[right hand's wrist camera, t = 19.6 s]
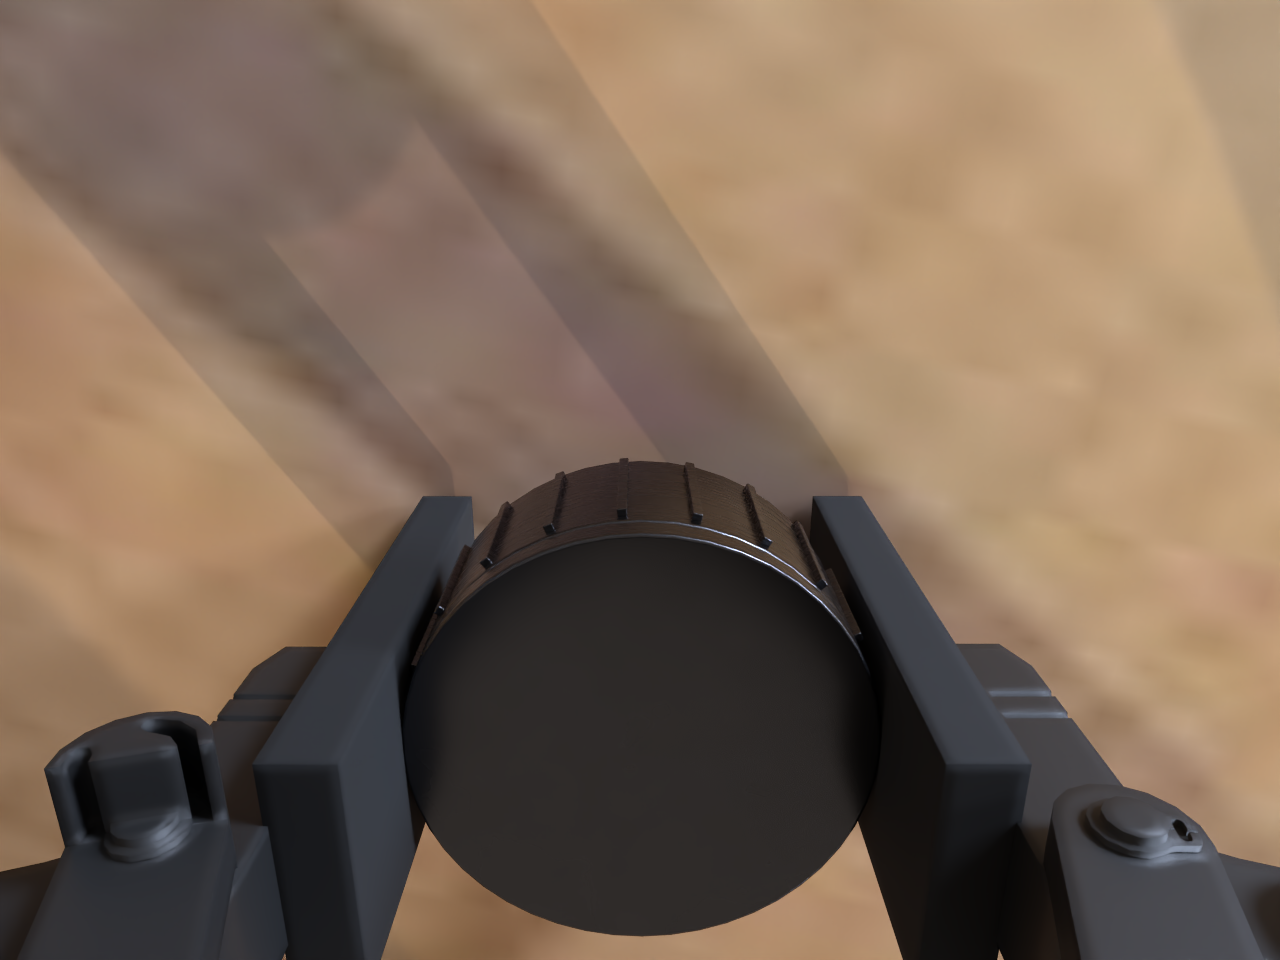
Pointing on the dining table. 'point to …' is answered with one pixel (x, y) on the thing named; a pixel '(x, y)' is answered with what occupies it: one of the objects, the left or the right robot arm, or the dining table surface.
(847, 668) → the lid
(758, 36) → the dining table surface
